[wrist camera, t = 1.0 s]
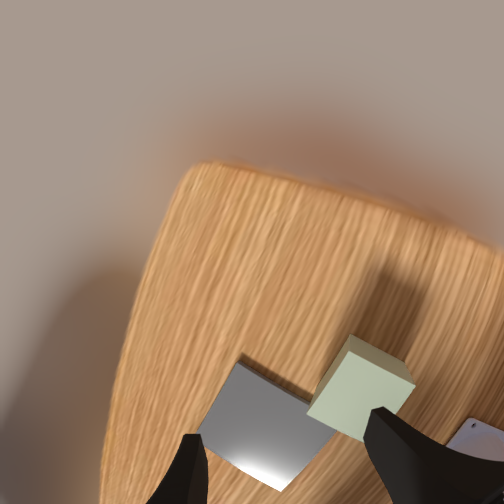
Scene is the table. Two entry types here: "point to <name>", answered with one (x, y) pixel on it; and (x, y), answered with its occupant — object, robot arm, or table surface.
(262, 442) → the coaster
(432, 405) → the table surface
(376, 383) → the cube
